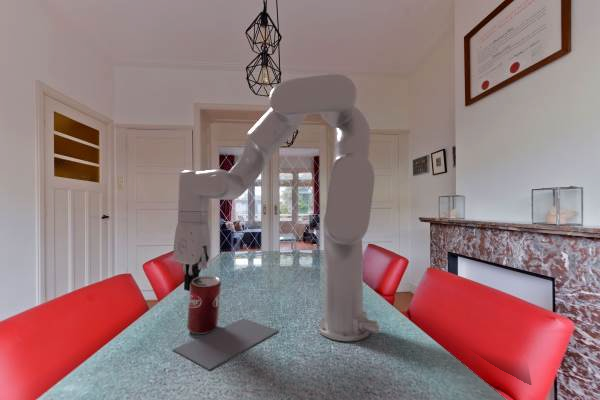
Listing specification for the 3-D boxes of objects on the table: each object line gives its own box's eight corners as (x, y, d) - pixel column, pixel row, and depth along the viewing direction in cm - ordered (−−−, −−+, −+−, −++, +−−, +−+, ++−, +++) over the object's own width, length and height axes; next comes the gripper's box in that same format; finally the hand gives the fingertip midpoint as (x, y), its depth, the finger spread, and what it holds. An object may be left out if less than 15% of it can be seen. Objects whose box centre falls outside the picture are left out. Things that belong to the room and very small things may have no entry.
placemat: (278, 331, 68) (278, 330, 68) (209, 370, 52) (209, 369, 52) (243, 319, 76) (243, 318, 76) (172, 350, 59) (172, 349, 59)
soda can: (188, 337, 65) (191, 288, 64) (185, 321, 71) (188, 276, 70) (220, 332, 68) (224, 285, 67) (214, 317, 75) (218, 274, 74)
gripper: (164, 217, 74) (162, 287, 74) (197, 220, 65) (195, 299, 65) (190, 216, 80) (188, 281, 80) (223, 219, 71) (221, 291, 71)
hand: (191, 289), depth 72 cm, fingers closed
